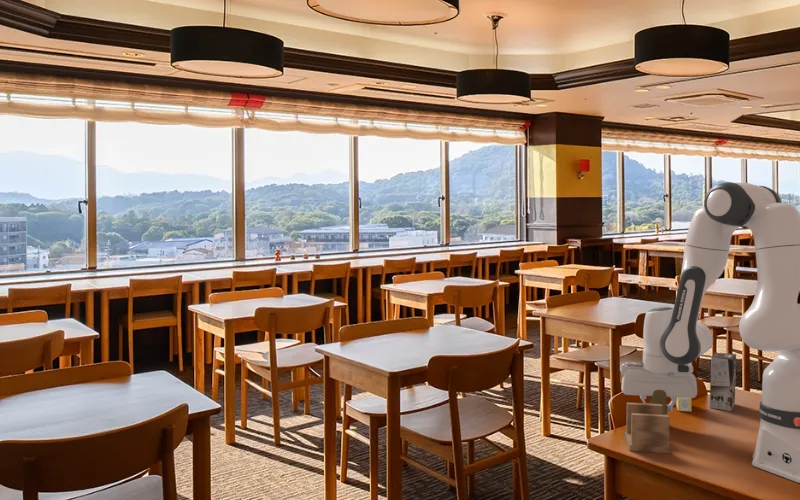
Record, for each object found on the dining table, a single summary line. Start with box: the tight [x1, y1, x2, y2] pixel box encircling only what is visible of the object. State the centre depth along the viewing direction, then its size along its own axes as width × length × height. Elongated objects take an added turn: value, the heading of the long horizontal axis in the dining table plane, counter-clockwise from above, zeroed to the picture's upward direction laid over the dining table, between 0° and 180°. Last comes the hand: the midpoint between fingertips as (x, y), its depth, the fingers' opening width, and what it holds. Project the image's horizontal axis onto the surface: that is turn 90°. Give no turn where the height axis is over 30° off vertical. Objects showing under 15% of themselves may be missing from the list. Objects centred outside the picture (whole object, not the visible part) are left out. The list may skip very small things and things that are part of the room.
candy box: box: [675, 362, 693, 413], centre depth 209 cm, size 9×4×15 cm, turn 162°
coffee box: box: [709, 352, 737, 412], centre depth 210 cm, size 9×6×16 cm
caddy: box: [623, 402, 672, 454], centre depth 177 cm, size 10×11×10 cm
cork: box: [649, 390, 669, 415], centre depth 193 cm, size 6×6×11 cm
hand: (658, 410), depth 193 cm, fingers closed on cork, 5 cm apart
